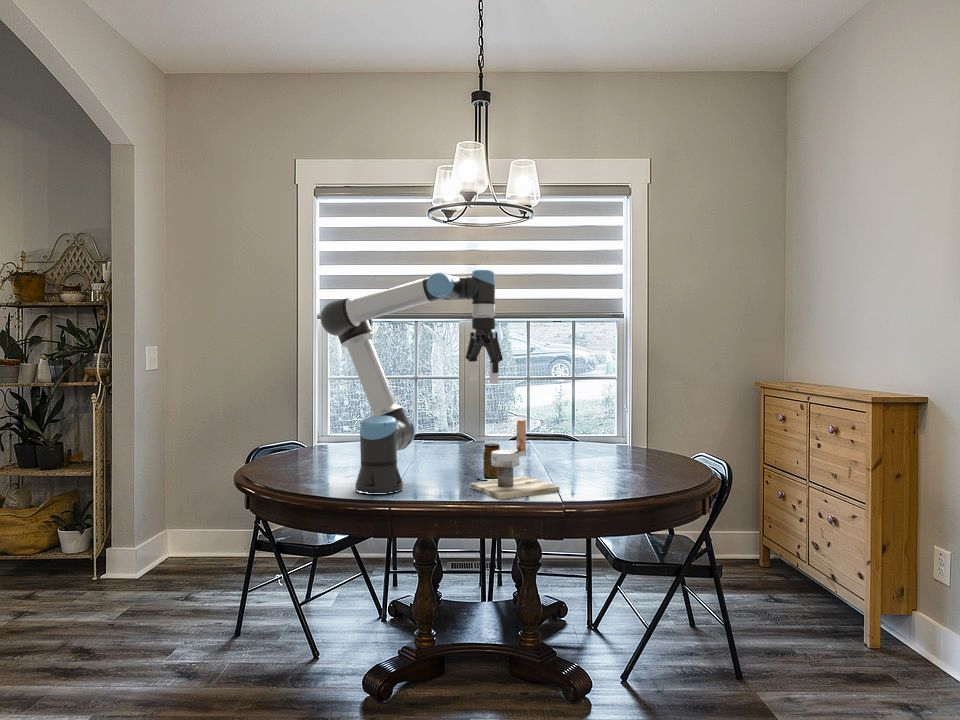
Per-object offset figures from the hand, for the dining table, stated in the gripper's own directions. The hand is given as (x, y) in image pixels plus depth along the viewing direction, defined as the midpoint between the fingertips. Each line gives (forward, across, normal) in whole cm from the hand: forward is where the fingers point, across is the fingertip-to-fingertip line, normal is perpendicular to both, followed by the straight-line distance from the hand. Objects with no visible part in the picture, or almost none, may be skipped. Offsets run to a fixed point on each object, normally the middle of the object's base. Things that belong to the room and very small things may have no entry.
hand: (483, 382), depth 225 cm
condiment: (+35, +9, -8) cm, 37 cm away
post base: (+34, -10, -6) cm, 36 cm away
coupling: (+26, -9, -5) cm, 28 cm away
